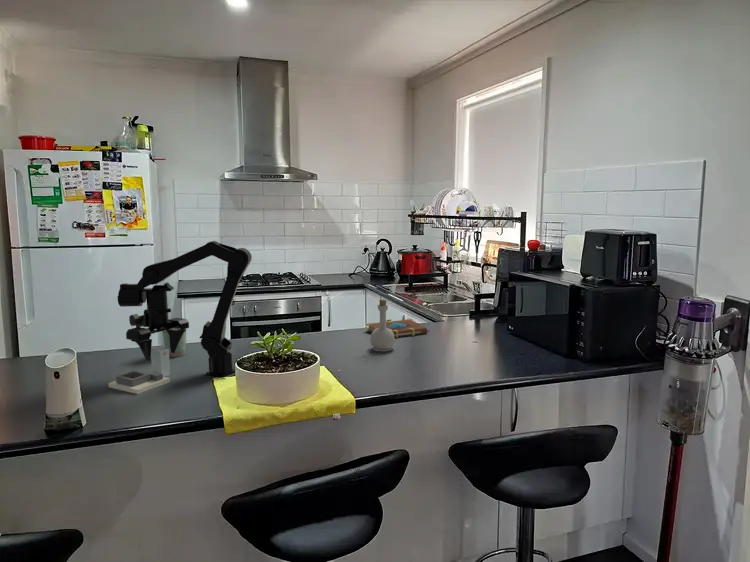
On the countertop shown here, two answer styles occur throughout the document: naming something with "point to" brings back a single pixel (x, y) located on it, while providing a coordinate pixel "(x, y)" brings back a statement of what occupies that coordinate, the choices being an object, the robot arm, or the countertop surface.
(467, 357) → the countertop surface
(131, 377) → the board
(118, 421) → the countertop surface
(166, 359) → the plug
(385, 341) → the potion bottle
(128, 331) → the robot arm
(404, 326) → the book
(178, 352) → the coffee cup
